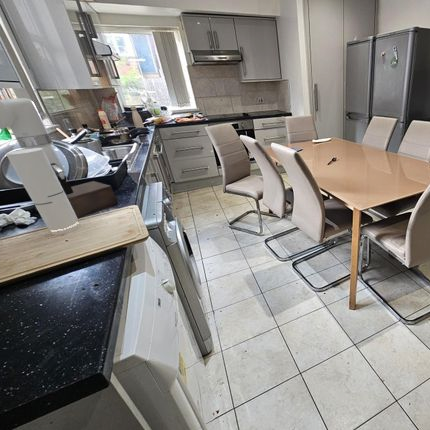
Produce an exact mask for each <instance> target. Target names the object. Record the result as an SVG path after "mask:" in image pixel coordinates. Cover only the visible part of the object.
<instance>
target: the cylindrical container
mask: <svg viewBox="0 0 430 430" xmlns="http://www.w3.org/2000/svg"><path fill="white" fill-rule="evenodd" d="M5 155H6V157H7V159H8V161H9V162H10V164H11V166H12V168H13V170H14V172H15V173H16V175H17V176H18V178H19V181H20V182H21V183H22V186H23V187H24V189H25V190H26V193H27V194H28V196H29V198H30V200H31V201H32V203H33V205H34V206H35V208H36V210H37V211H38V213H39V215H40V217H41V219H42V220H43V222H44V224H45V226H46V228H47V230H48V231H49V230H58V229H64V228H67V227H69V226H71V225H73V224H75V223H76V222H77V220H79V218H77V216H76V214H75V212H74V210H73V208H72V206H71V204H70V202H69V200H68V198H67V196H66V194H65V192H64V190H63V188H62V186H61V184H60V182H59V180H58V178H57V176H56V174H55V172H54V170H53V168H52V166H51V164H50V162H49V160H48V158H47V156H46V155H45V153H44V151H43V149H42V148H32V149H18V150H13V151H9V152H6V153H5ZM81 226H82V225H81V222H80V221H79V224H77V225H76V226H74V227H72V228H69V229H66V230H63V231H57V232H51V231H49V233H50V235H52V236H57V235H63V234H67V233H71V232H73V231H75V230H77V229H79V228H80V227H81Z"/></svg>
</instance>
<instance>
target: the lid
mask: <svg viewBox="0 0 430 430" xmlns="http://www.w3.org/2000/svg"><path fill="white" fill-rule="evenodd" d="M71 188H72V190H73V193H71V194H68V195H66V196H67V198H68V200H71V199H74V198H78V197H81V196H84V195H88V194H91V193H95V192H98V191H101V190H105V189H108V188H112V185H110V184H106V183H102V182H98V181H95V180H92V181H88V182H85V183H81V184H80V183H79V184H78V185H77V184H76V185H73V186H71Z"/></svg>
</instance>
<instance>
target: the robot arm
mask: <svg viewBox="0 0 430 430" xmlns="http://www.w3.org/2000/svg"><path fill="white" fill-rule="evenodd" d="M7 128H10V130H11V132H12V134H13V136H14V137H15V140H16V141H17V143H18V145H19V146H20V148H21V149H22V150H24V149H32V148H42V149H43V151H44V153H45V155H46V156H47V158H48V160H49V162H50V164H51V166H52V168H53V170H54V172H55V174H56V176H57V178H58V180H59V182H60V184H61V186H62V188H63V190H64V192H65V194H66V195H68V194H71V193H73V190H72V188H71V187H72V186H71V184H70V182H69V180H68V178H67V176H66V175H65V174H66V171H65V169H64V167H63V165H62V162H61V160H60V159H59V157H58V156H57V153H56V152H55V150H54V149H53V147H52V145H54V142H53V139H52V138H51V136H50V133H49V132H48V130H47V127H46V124H45V123H44V121H43V119H42V116H41V115H40V112H39V110H38V109H37V106H36V105H35V102H34V101H33V100H31V99H30V98H26V97H15V98H14V97H13V98H2V99H0V130H3V129H7Z"/></svg>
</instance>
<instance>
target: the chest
mask: <svg viewBox="0 0 430 430" xmlns="http://www.w3.org/2000/svg"><path fill="white" fill-rule="evenodd" d="M69 202H70V204H71V206H72V208H73V210H74V212H75V214H76V216H77V218H78V219H80V218H83V217H86V216H89V215H91V214H94V213H97V212H100V211H103V210H105V209H108V208H111V207H113V206H116V205H119V202H118V199H117V197H116V195H115V192H114V189H113V188H112V187H111V188H108V189H105V190H101V191H98V192H95V193H91V194H88V195H84V196H81V197H78V198H74V199H71V200H69Z"/></svg>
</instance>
